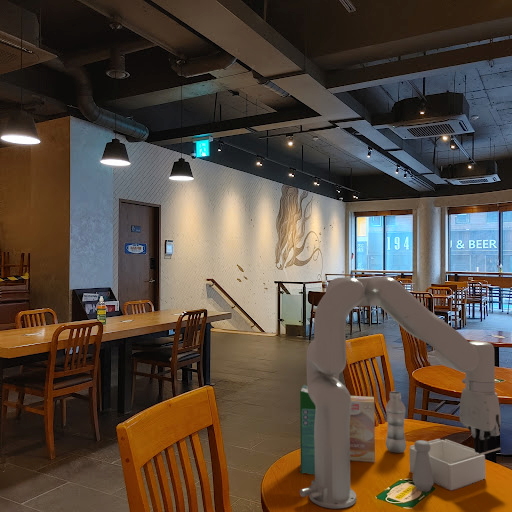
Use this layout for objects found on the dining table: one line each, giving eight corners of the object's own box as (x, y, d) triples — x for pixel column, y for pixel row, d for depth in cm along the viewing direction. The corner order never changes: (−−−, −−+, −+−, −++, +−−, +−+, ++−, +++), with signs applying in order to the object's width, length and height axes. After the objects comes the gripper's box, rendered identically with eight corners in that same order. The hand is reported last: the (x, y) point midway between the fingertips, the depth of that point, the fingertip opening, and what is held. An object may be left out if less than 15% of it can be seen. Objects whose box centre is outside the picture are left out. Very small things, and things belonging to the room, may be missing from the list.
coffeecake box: (328, 459, 155) (327, 399, 156) (330, 451, 162) (329, 393, 163) (375, 462, 152) (374, 401, 153) (374, 454, 159) (374, 396, 160)
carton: (450, 491, 132) (449, 464, 132) (407, 471, 145) (406, 446, 145) (486, 478, 139) (486, 453, 140) (442, 461, 153) (442, 437, 153)
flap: (452, 461, 133) (453, 463, 132) (469, 456, 128) (470, 458, 128) (482, 452, 139) (483, 454, 139) (500, 447, 134) (501, 449, 134)
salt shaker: (436, 486, 134) (435, 440, 135) (431, 494, 130) (430, 446, 130) (415, 482, 138) (414, 436, 138) (410, 489, 133) (409, 442, 133)
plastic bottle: (391, 446, 166) (390, 389, 167) (409, 451, 161) (408, 392, 162) (382, 451, 161) (381, 392, 162) (400, 457, 157) (399, 396, 157)
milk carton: (330, 475, 142) (329, 391, 143) (300, 473, 144) (300, 390, 145) (331, 464, 151) (331, 385, 152) (303, 462, 153) (303, 384, 154)
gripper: (448, 382, 138) (449, 446, 137) (496, 393, 125) (497, 464, 124) (465, 379, 141) (465, 442, 141) (513, 390, 128) (514, 458, 128)
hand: (480, 452), depth 132 cm, fingers closed
